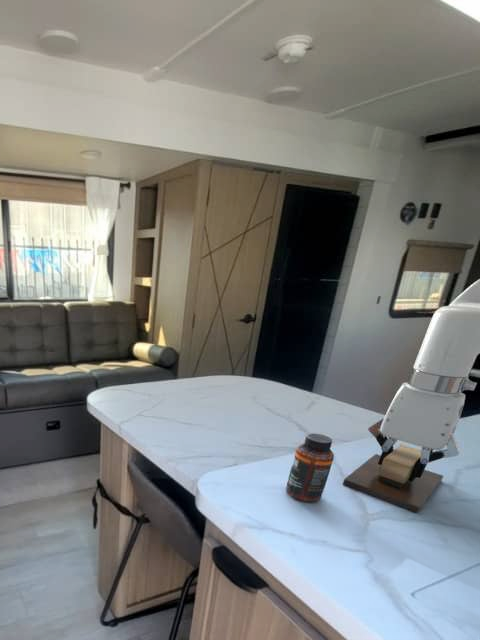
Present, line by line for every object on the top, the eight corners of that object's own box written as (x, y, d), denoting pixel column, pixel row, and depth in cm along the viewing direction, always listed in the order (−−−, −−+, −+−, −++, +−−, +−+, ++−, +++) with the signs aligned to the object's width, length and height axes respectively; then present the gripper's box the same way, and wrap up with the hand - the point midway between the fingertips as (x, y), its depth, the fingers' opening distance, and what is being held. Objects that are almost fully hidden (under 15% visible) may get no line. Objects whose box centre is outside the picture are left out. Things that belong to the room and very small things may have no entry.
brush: (392, 465, 83) (400, 444, 81) (416, 473, 80) (425, 451, 78) (375, 480, 77) (384, 458, 75) (401, 489, 74) (410, 467, 72)
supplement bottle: (327, 497, 73) (346, 440, 68) (309, 507, 70) (328, 448, 65) (296, 482, 77) (312, 428, 72) (278, 491, 74) (293, 434, 69)
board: (373, 458, 88) (375, 453, 88) (441, 481, 80) (443, 475, 80) (342, 484, 77) (344, 478, 77) (416, 513, 69) (419, 507, 69)
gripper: (503, 390, 67) (456, 485, 75) (386, 368, 78) (356, 453, 86) (496, 399, 62) (446, 499, 70) (373, 374, 73) (343, 463, 81)
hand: (397, 473), depth 78 cm, fingers closed on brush, 4 cm apart
